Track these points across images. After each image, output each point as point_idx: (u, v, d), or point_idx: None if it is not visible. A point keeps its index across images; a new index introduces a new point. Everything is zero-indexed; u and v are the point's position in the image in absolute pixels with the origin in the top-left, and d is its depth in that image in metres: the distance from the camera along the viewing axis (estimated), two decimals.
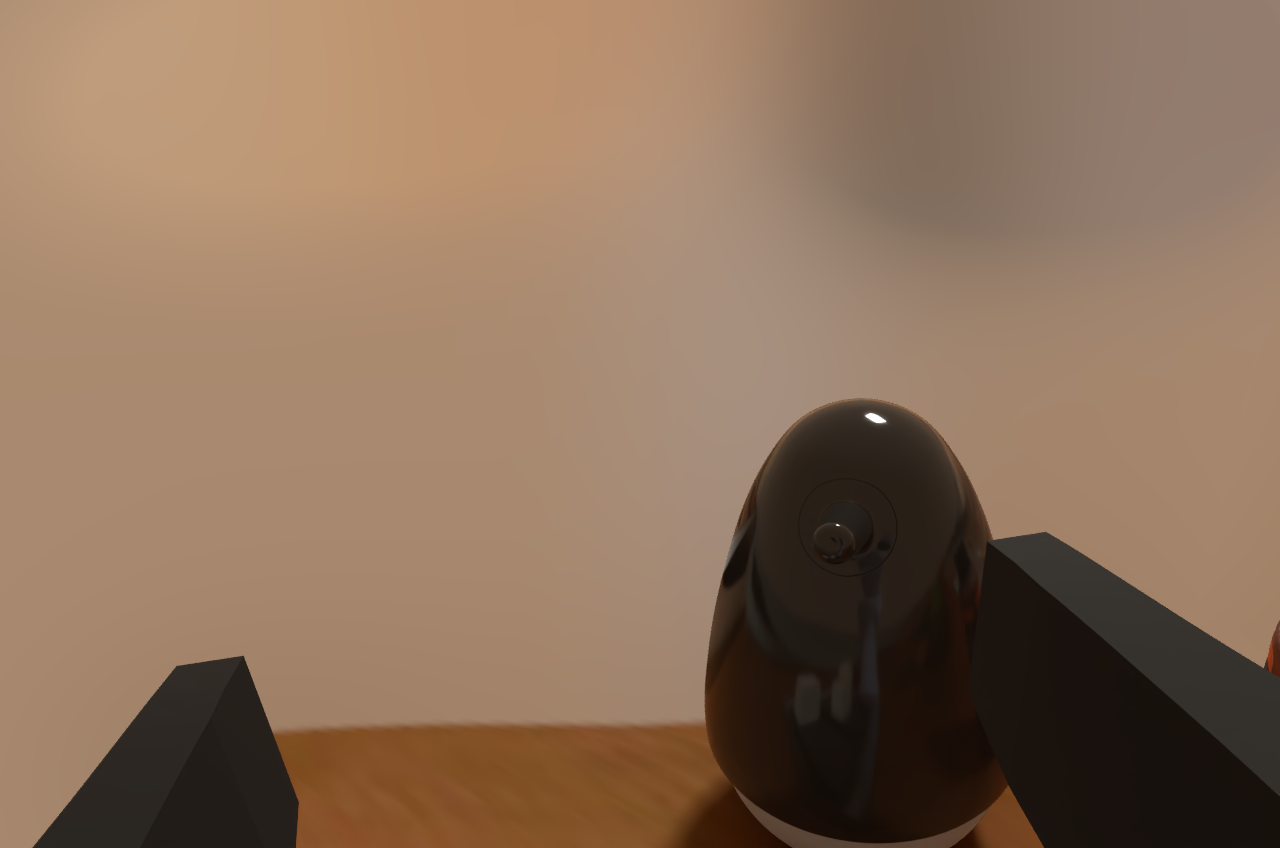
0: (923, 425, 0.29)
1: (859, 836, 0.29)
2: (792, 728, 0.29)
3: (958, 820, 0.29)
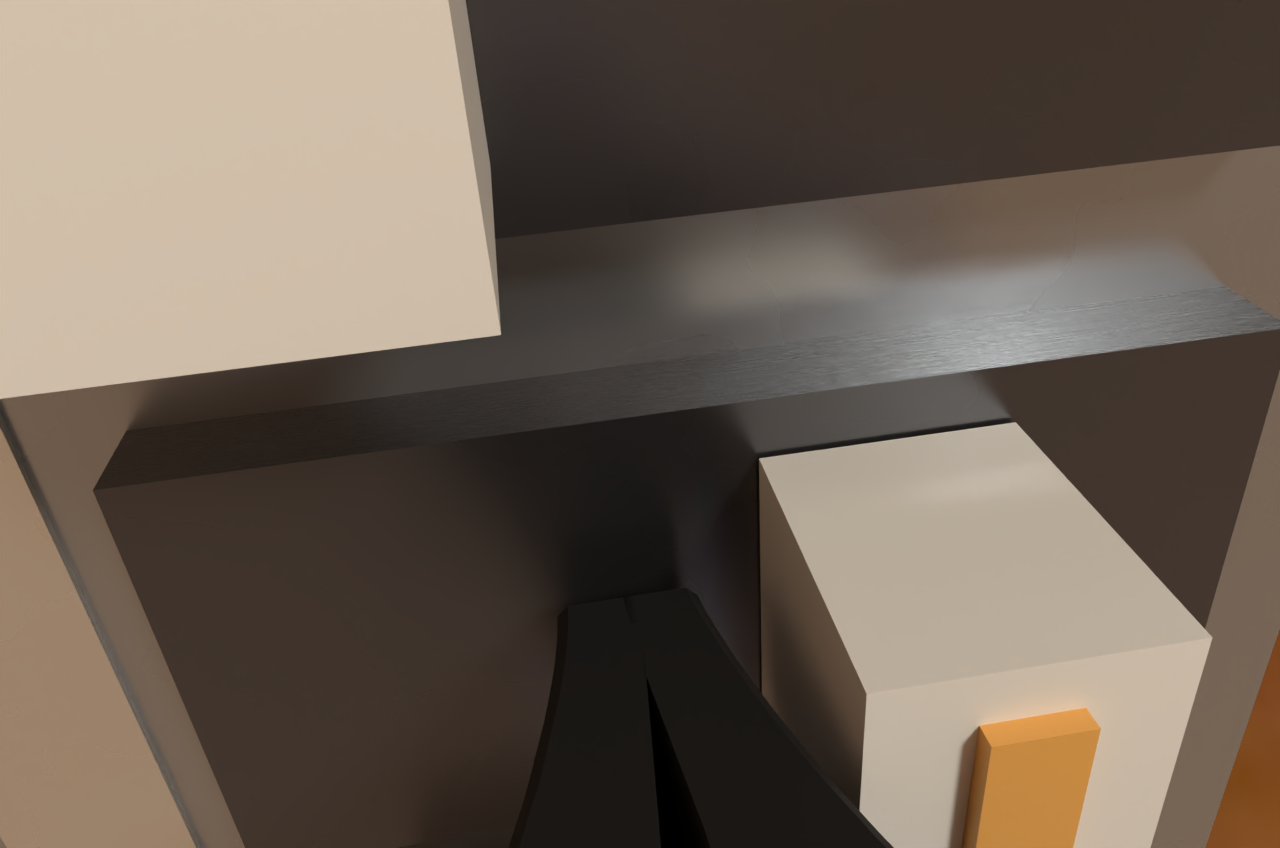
0: None
1: None
2: None
3: None
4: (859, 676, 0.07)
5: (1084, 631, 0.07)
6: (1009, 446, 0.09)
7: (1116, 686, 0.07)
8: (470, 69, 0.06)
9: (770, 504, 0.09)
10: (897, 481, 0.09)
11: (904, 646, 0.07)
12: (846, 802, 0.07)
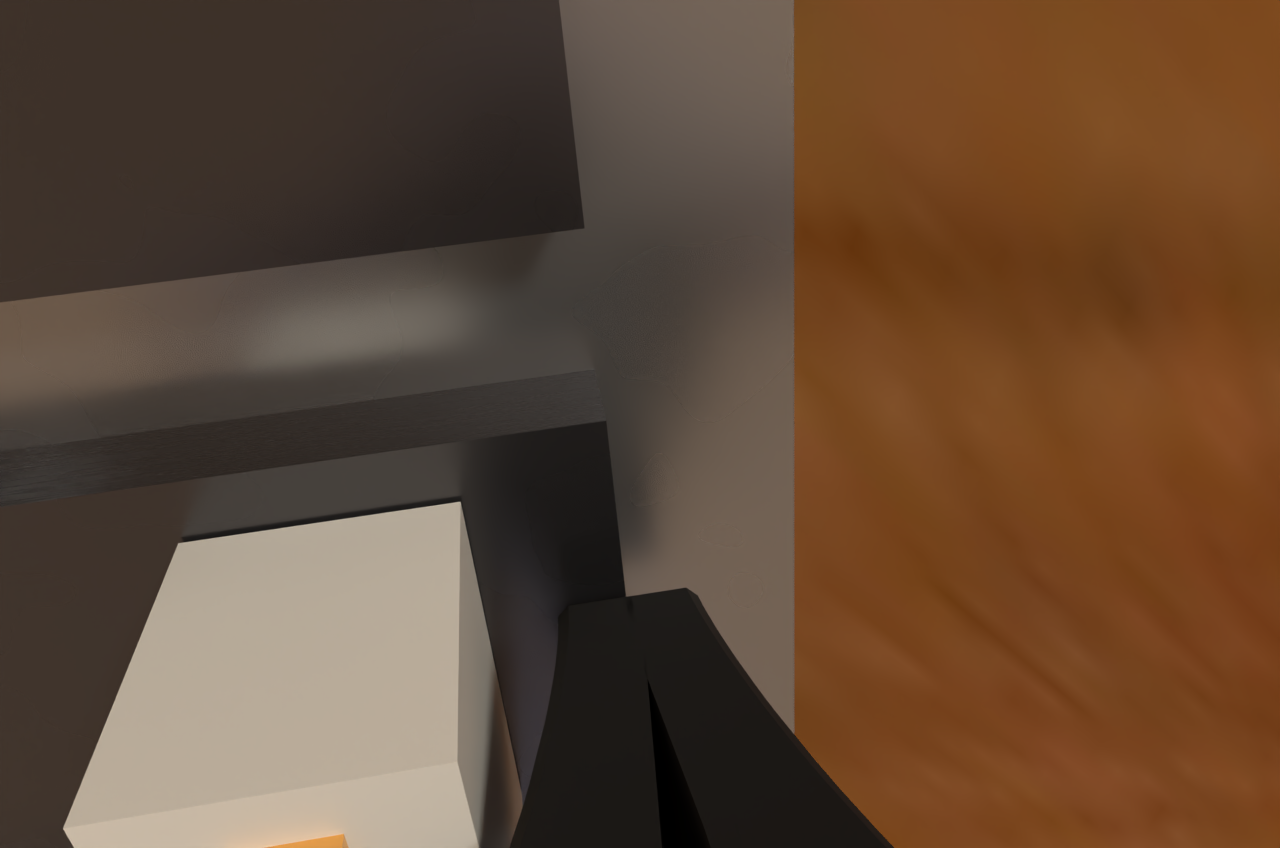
0: None
1: None
2: None
3: None
4: (71, 808, 0.07)
5: (336, 753, 0.07)
6: (432, 530, 0.09)
7: (369, 813, 0.07)
8: None
9: None
10: (292, 571, 0.09)
11: (145, 770, 0.07)
12: (846, 802, 0.07)
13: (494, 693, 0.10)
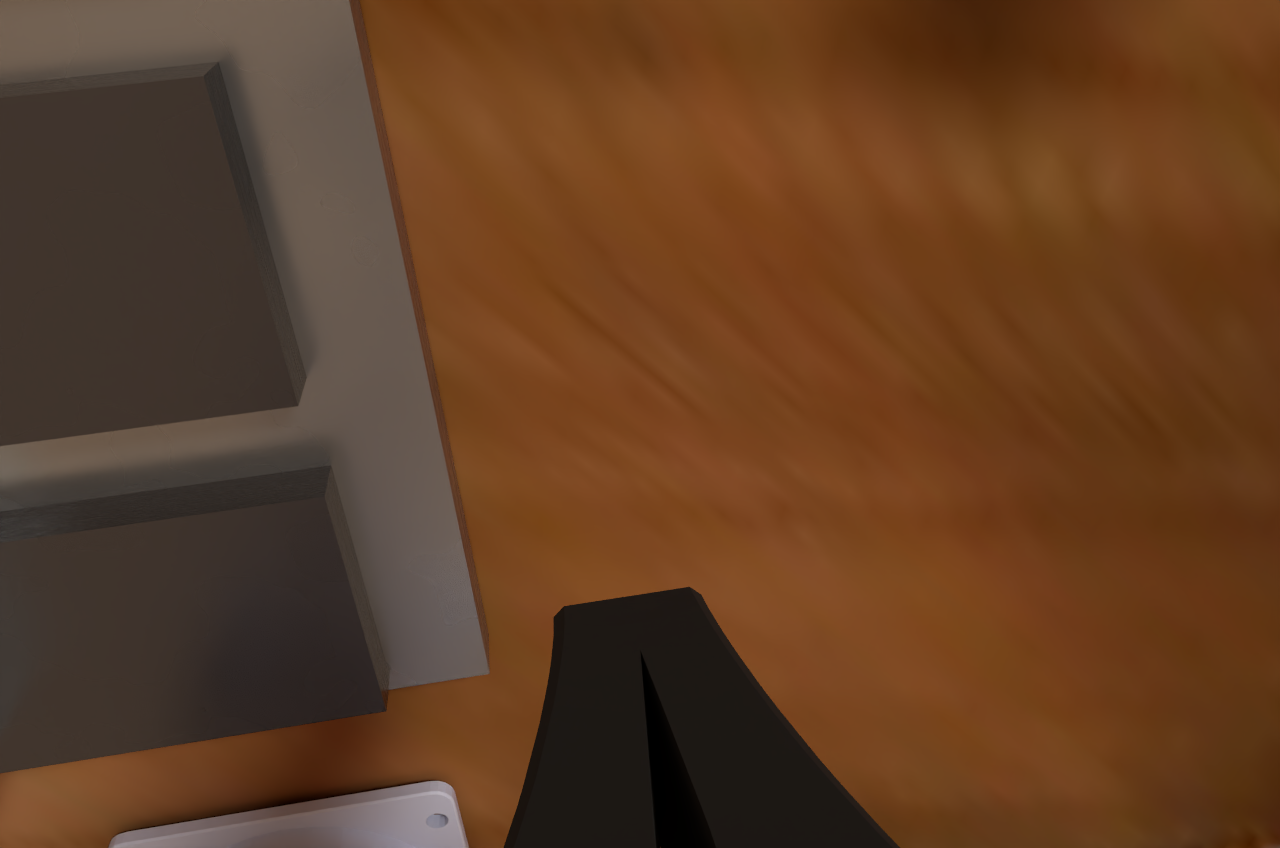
0: None
1: None
2: None
3: None
4: None
5: None
6: None
7: None
8: None
9: None
10: None
11: None
12: (851, 802, 0.07)
13: None
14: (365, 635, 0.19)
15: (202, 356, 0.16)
